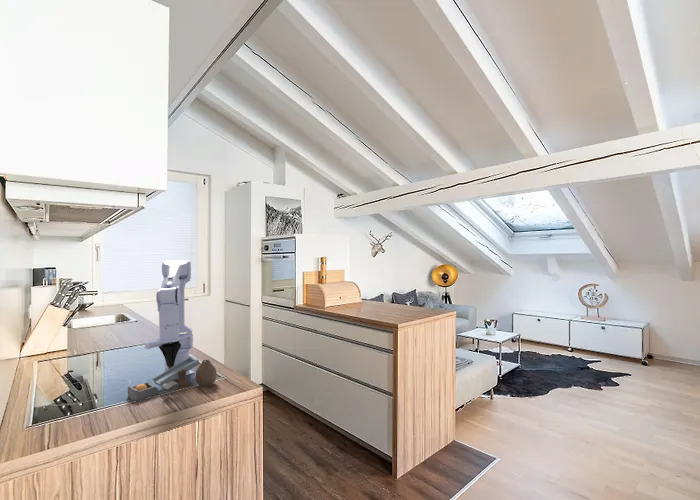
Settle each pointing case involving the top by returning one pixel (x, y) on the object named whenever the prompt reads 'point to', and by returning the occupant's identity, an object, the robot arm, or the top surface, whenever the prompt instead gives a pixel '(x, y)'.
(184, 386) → the stand
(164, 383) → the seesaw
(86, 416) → the top surface
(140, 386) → the ball
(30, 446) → the top surface
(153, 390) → the grey open box
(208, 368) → the vase
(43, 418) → the top surface
